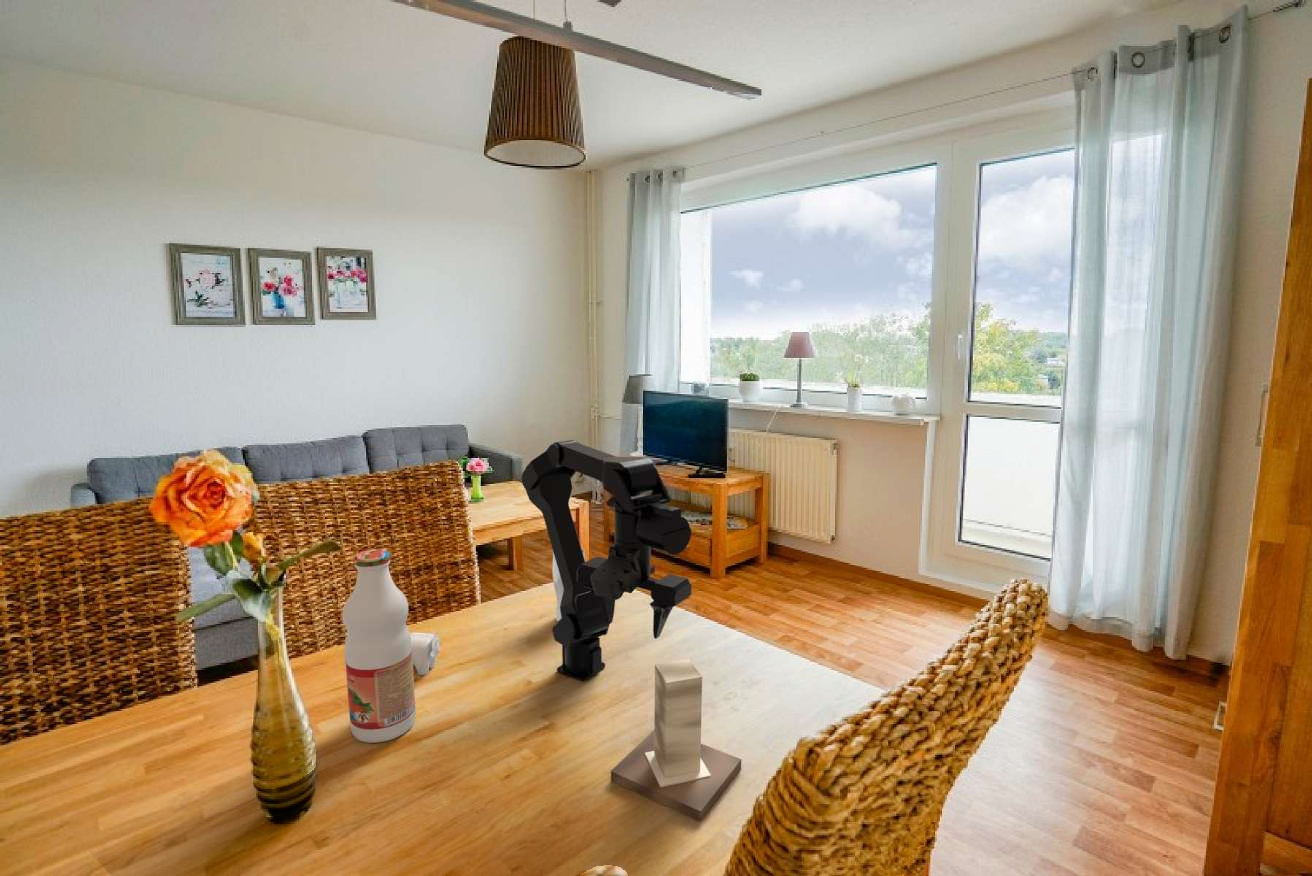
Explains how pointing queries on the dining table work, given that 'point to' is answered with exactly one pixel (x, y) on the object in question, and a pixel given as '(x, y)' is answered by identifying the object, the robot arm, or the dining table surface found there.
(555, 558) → the robot arm
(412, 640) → the elephant figurine
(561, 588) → the beer glass
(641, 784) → the walnut base board
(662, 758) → the birch pillar block
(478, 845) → the dining table surface
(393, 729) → the fruit juice
